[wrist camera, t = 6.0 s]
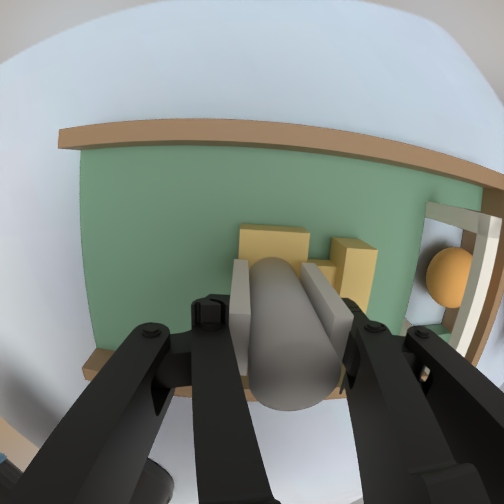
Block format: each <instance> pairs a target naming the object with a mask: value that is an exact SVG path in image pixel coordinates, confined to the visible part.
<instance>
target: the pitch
mask: <svg viewBox="0 0 504 504" xmlns="http://www.w3.org/2000/svg"><path fill="white" fill-rule="evenodd" d="M58 148H60V149H72V150H81V158H80V226H81V243H82V256H83V266H84V275H85V283H86V291H87V298H88V305H89V311H90V317H91V322H92V328H93V333H94V338H95V342H96V347H97V348H96V349H95V351H94V352H93V353H92V355H91V356H90V357H89V359H88V360H87V361H86V363H85V364H84V365H83V367H82V370H83V373H84V377H85V380H89V381H92V380H93V378H94V377H95V376H96V375H97V373H98V372H99V371H100V370H101V368H102V367H103V366H104V365H105V363H106V362H107V361H108V360H109V358H110V357H111V356H112V355H113V353H114V352H115V351H116V350H117V349H118V347H119V346H120V345H121V344H122V342H123V341H124V340H125V339H126V338H127V336H128V335H129V334H130V333H131V332H132V330H133V329H134V328H135V327H137V326H138V325H141V324H143V323H147V322H148V323H149V322H153V323H160V324H164V325H165V326H167V327H168V328H169V330H170V334H174V333H182V332H186V331H189V330H191V304H192V302H193V301H195V300H196V299H199V298H205V297H206V296H207V295H209V294H224V295H231V285H232V275H233V266H234V259H238V257H239V238H240V223H242V224H259V225H276V226H292V227H304V228H305V229H306V230H307V231H308V232H309V233H310V240H309V249H308V258H307V259H320V260H329V257H330V250H331V241H332V237H340V238H354V239H361V240H362V241H364V242H366V243H367V244H369V245H371V246H372V247H374V248H376V249H377V250H378V254H377V260H376V266H375V271H374V277H373V282H372V287H371V292H370V297H369V302H368V306H367V311H366V316H367V317H368V318H369V320H372V321H377V322H380V323H382V324H384V325H386V326H387V327H388V328H389V330H390V332H391V333H392V335H399V336H406V333H407V329H408V328H409V327H412V326H413V325H412V324H411V323H410V322H409V321H408V320H407V319H406V318H405V313H406V310H407V306H408V302H409V298H410V294H411V289H412V285H413V281H414V276H415V271H416V266H417V261H418V256H419V251H420V245H421V239H422V233H423V226H424V219H425V217H427V218H430V219H433V220H437V221H440V222H443V223H446V224H450V225H453V226H456V227H459V228H462V229H464V231H463V237H462V243H461V248H462V249H464V250H466V251H468V252H469V253H470V254H471V255H472V256H473V257H472V262H471V267H470V271H469V275H468V279H467V283H466V287H465V291H464V295H463V298H462V302H461V305H460V307H457V308H447V307H446V310H445V314H444V317H443V320H442V323H441V324H437V325H425V326H424V327H426V328H428V329H430V330H432V331H433V332H435V333H436V334H437V335H438V336H439V337H441V338H442V339H443V340H444V341H445V342H447V343H448V344H449V345H450V346H451V347H452V348H454V349H455V350H456V351H457V352H458V353H459V354H461V355H462V356H463V357H464V358H465V359H466V360H468V361H469V362H470V363H471V364H472V365H473V366H474V367H476V366H477V364H478V362H479V359H480V357H481V355H482V352H483V350H484V347H485V345H486V342H487V340H488V337H489V335H490V332H491V329H492V327H493V324H494V321H495V318H496V315H497V312H498V309H499V306H500V302H501V299H502V296H503V292H504V174H501V173H499V172H496V171H494V170H491V169H488V168H485V167H483V166H480V165H477V164H474V163H471V162H468V161H465V160H462V159H459V158H456V157H453V156H450V155H446V154H443V153H440V152H436V151H433V150H429V149H425V148H422V147H418V146H414V145H410V144H406V143H402V142H398V141H393V140H389V139H384V138H379V137H375V136H370V135H364V134H359V133H354V132H348V131H342V130H336V129H329V128H322V127H315V126H307V125H299V124H289V123H279V122H268V121H254V120H236V119H155V120H137V121H124V122H112V123H103V124H94V125H86V126H79V127H72V128H65V129H59V138H58ZM445 204H446V205H445ZM449 205H451V206H449ZM454 206H456V207H454ZM458 207H461V208H458ZM462 208H466V209H462ZM345 370H346V369H345V367H344V365H343V363H342V367H341V377H340V380H339V382H338V384H337V386H336V388H335V389H334V390H333V392H332V393H331V394H330V395H329V396H328V397H327V398H325V399H324V400H328V399H341V398H347V396H346V394H345V393H346V391H345V389H344V390H343V392H342V394H339V391H340V387H341V384H342V381H343V377H344V374H345ZM429 372H430V370H429V369H428V368H427V367H426V368H425V370H424V372H423V375H422V377H421V378H422V379H423V380H424V381H426V379H427V377H428V375H429ZM240 376H241V375H240ZM241 380H242V384H243V388H244V392H245V396H246V400H247V401H257V400H256V398H255V397H254V396H253V395H252V393H251V391H250V388H249V379H248V363H247V376H241ZM173 396H181V397H191V398H192V386H185V387H177V388H175V393H174V395H173Z"/></svg>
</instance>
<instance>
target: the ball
mask: <svg viewBox="0 0 504 504" xmlns="http://www.w3.org/2000/svg"><path fill="white" fill-rule="evenodd" d="M472 257H473V256H472V255H471V254H470V253H469V252H468V251H466V250H464V249H462V248H458V247H450V248H446V249H443V250H442V251H440V252H438V253H437V254H436V255H435V256H434V257H433V259H432V260H431V262H430V264H429V266H428V269H427V273H426V284H427V288H428V291H429V293H430V295H431V297H432V298H433V299H434V300H435V301H436V302H437V303H438V304H440V305H442V306H444V307H447V308H457V307H460V305H461V302H462V298H463V295H464V291H465V287H466V283H467V279H468V275H469V271H470V267H471V262H472Z"/></svg>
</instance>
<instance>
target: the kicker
mask: <svg viewBox="0 0 504 504" xmlns="http://www.w3.org/2000/svg"><path fill="white" fill-rule="evenodd" d="M309 240H310V233H309V232H308V231H307V230H306V229H305V228H304V227H292V226H276V225H259V224H242V223H240V238H239V257H238V259H244V260H248V269H249V289H250V308H251V319H250V334H249V345H248V379H249V388H250V391H251V393H252V395H253V396H254V397H255V398H256V400H257V401H259V402H260V403H261V404H263V405H264V406H267V407H269V408H272V409H275V410H280V411H296V410H302V409H305V408H309V407H311V406H314V405H316V404H318V403H319V402H321V401H323V400H324V399H325V398H327V397H328V396H329V395H330V394H331V393H332V392H333V390H334V389H335V388H336V386H337V384H338V382H339V380H340V377H341V363H340V360H339V358H338V356H337V354H336V352H335V350H334V348H333V346H332V344H331V342H330V340H329V338H328V336H327V334H326V332H325V330H324V328H323V326H322V324H321V322H320V320H319V318H318V316H317V314H316V312H315V310H314V308H313V306H312V304H311V302H310V300H309V298H308V296H307V294H306V292H305V290H304V288H303V286H302V284H301V282H300V272H301V263H302V262H304V263H315V264H316V266H317V267H318V268H319V270H320V271H321V272H322V273H323V275H324V276H325V277H326V279H327V280H328V281H329V283H330V284H331V285H332V287H333V288H334V289H335V291H336V292H337V293H338V295H339V296H340V298H349V299H351V300H353V301H354V302H356V304H357V305H358V306H359V308H361V310H362V311H363V312H364V313H365V315H366V311H367V306H368V302H369V297H370V292H371V287H372V282H373V277H374V271H375V266H376V260H377V254H378V250H377V249H376V248H374V247H372V246H371V245H369V244H367V243H366V242H364V241H362V240H361V239H354V238H340V237H332V241H331V250H330V257H329V260H320V259H307V258H308V249H309Z"/></svg>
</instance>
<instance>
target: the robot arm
mask: <svg viewBox="0 0 504 504" xmlns="http://www.w3.org/2000/svg"><path fill="white" fill-rule="evenodd" d="M300 282H301V284H302V286H303V288H304V290H305V292H306V294H307V296H308V298H309V300H310V302H311V304H312V306H313V308H314V310H315V312H316V314H317V316H318V318H319V320H320V322H321V324H322V326H323V328H324V330H325V332H326V334H327V336H328V338H329V340H330V342H331V344H332V346H333V348H334V350H335V352H336V354H337V356H338V358H339V360H340V363H341V367H342V363H343V365H344V367H345V369H346V370H345V374H344V377H343V381H342V384H341V387H340V391H339V394H342V392H343V390H344V389H345V391H346V393H345V394H346V396H347V401H348V406H349V412H350V417H351V422H352V428H353V434H354V439H355V445H356V451H357V458H358V464H359V471H360V478H361V485H362V492H363V500H364V504H504V393H503V392H502V391H501V390H500V389H499V388H498V387H497V386H496V385H494V384H493V383H492V382H491V381H490V380H489V379H488V378H487V377H486V376H485V375H483V374H482V373H481V372H480V371H479V370H478V369H477V368H476V367H474V366H473V365H472V364H471V363H470V362H469V361H468V360H466V359H465V358H464V357H463V356H462V355H461V354H459V353H458V352H457V351H456V350H455V349H454V348H452V347H451V346H450V345H449V344H448V343H447V342H445V341H444V340H443V339H442V338H441V337H439V336H438V335H437V334H436V333H435V332H433V331H432V330H430V329H428V328H426V327H424V326H412V327H409V328H408V329H407V333H406V336H399V335H392V333H391V332H390V330H389V328H388V327H387V326H386V325H384V324H382V323H380V322H377V321H372V320H369V318H368V317H367V316H366V315H365V313H364V312H363V311H362V310H361V308H359V306H358V305H357V304H356V302H354V301H353V300H351V299H349V298H340V296H339V295H338V293H337V292H336V291H335V289H334V288H333V287H332V285H331V284H330V283H329V281H328V280H327V279H326V277H325V276H324V275H323V273H322V272H321V271H320V270H319V268H318V267H317V266H316V264H315V263H304V262H302V263H301V272H300ZM250 319H251V308H250V289H249V269H248V260H244V259H234V266H233V275H232V285H231V295H224V294H209V295H207V296H206V297H205V298H199V299H196V300H195V301H193V302H192V304H191V330H189V331H186V332H182V333H174V334H170V330H169V328H168V327H167V326H165V325H164V324H160V323H153V322H149V323H148V322H147V323H143V324H141V325H138V326H137V327H135V328H134V329H133V330H132V332H131V333H130V334H129V335H128V336H127V338H126V339H125V340H124V341H123V342H122V344H121V345H120V346H119V347H118V349H117V350H116V351H115V352H114V353H113V355H112V356H111V357H110V358H109V360H108V361H107V362H106V363H105V365H104V366H103V367H102V368H101V370H100V371H99V372H98V373H97V375H96V376H95V377H94V378H93V380H92V381H91V382H90V383H89V385H88V386H87V387H86V389H85V390H84V391H83V392H82V394H81V395H80V396H79V398H78V399H77V400H76V402H75V403H74V404H73V405H72V407H71V408H70V409H69V411H68V412H67V413H66V415H65V416H64V417H63V419H62V420H61V421H60V423H59V424H58V425H57V427H56V428H55V429H54V431H53V432H52V433H51V435H50V436H49V438H48V439H47V440H46V442H45V443H44V444H43V446H42V447H41V449H40V450H39V451H38V453H37V454H36V456H35V457H34V458H33V460H32V461H31V463H30V464H29V466H28V467H27V468H26V470H25V472H24V473H23V472H22V471H21V470H20V469H18V468H17V467H16V466H15V465H14V464H13V463H12V462H10V461H9V460H8V459H7V457H6V456H5V455H4V454H3V453H0V504H168V503H169V502H170V500H171V498H172V495H173V489H174V482H173V480H172V478H171V477H170V475H169V474H168V473H167V472H166V471H165V470H164V469H162V468H161V467H160V466H158V465H157V464H155V463H154V462H152V461H151V460H149V459H147V457H148V455H149V453H150V450H151V448H152V445H153V443H154V440H155V438H156V436H157V433H158V431H159V428H160V426H161V424H162V421H163V419H164V416H165V414H166V412H167V409H168V407H169V404H170V402H171V400H172V397H173V395H174V393H175V388H177V387H185V386H192V407H193V430H194V448H195V463H196V476H197V488H198V499H199V504H281V503H280V501H278V500H276V499H275V498H274V497H273V495H272V492H271V489H270V485H269V482H268V478H267V475H266V471H265V468H264V464H263V461H262V457H261V453H260V450H259V446H258V442H257V439H256V435H255V431H254V427H253V424H252V420H251V416H250V412H249V408H248V404H247V400H246V396H245V392H244V388H243V384H242V380H241V376H247V363H248V345H249V334H250ZM426 367H427V368H428V369H429V370H430V372H429V375H428V377H427V379H426V381H424V380H423V379H422V378H421V377H422V375H423V372H424V370H425V368H426ZM240 375H241V376H240Z"/></svg>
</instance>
